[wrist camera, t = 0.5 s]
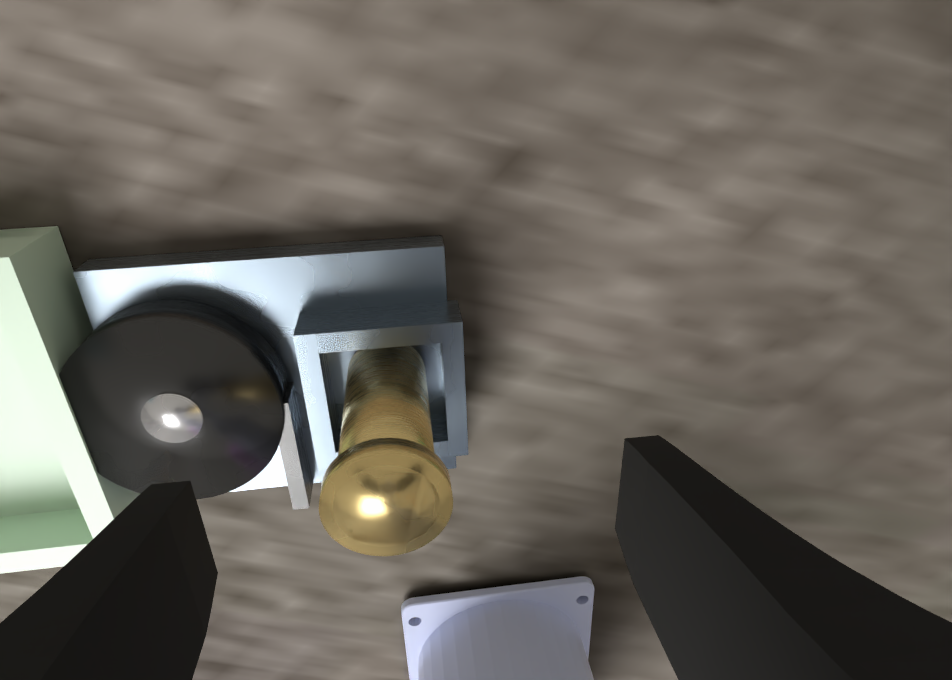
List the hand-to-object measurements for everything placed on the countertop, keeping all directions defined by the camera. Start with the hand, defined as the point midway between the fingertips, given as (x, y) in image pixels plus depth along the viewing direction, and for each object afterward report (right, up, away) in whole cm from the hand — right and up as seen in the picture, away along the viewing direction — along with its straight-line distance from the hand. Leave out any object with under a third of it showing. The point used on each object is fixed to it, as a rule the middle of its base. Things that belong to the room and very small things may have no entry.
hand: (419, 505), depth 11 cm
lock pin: (-2, +2, +9) cm, 9 cm away
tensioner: (-5, +2, +9) cm, 11 cm away
